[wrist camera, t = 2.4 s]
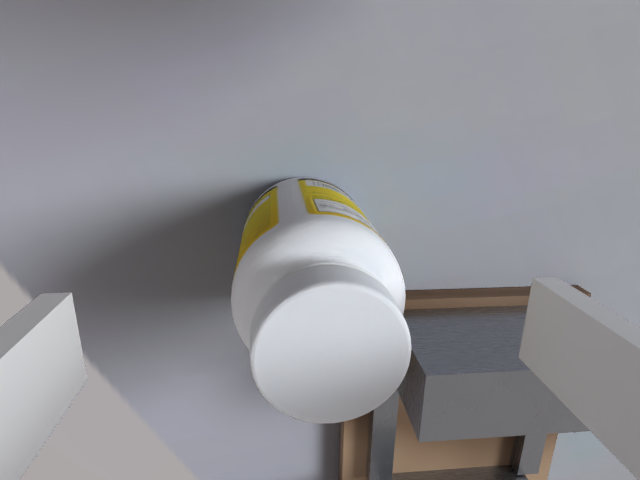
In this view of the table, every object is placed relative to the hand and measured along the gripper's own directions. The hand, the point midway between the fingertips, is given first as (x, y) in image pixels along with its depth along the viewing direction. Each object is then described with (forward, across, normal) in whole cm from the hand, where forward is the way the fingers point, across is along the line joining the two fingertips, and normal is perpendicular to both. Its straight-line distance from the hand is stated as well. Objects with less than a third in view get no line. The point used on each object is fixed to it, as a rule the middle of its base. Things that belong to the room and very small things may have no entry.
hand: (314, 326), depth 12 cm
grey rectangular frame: (+8, +8, -10) cm, 15 cm away
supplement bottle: (+8, 0, 0) cm, 8 cm away
